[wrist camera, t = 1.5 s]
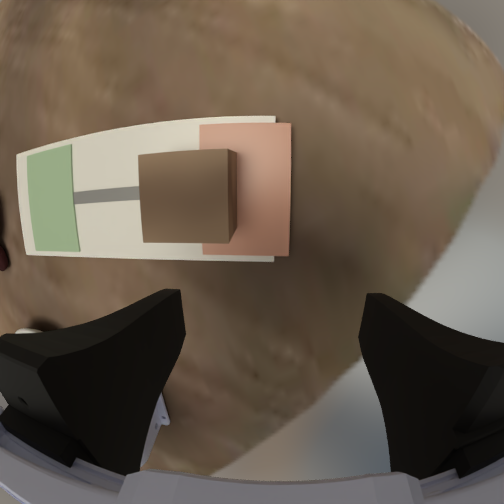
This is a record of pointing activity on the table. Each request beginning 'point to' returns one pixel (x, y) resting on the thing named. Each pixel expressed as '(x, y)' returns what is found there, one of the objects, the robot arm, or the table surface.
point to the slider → (188, 196)
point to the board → (128, 199)
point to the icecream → (3, 259)
